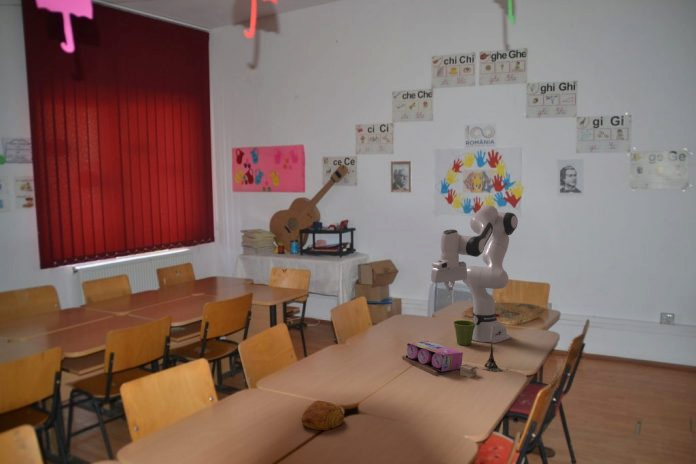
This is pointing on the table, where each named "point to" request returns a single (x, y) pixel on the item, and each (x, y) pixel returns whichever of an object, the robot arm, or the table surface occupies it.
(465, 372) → the beech block
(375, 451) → the table surface
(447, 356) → the gum box
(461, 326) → the plant pot
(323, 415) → the croissant
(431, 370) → the podium
